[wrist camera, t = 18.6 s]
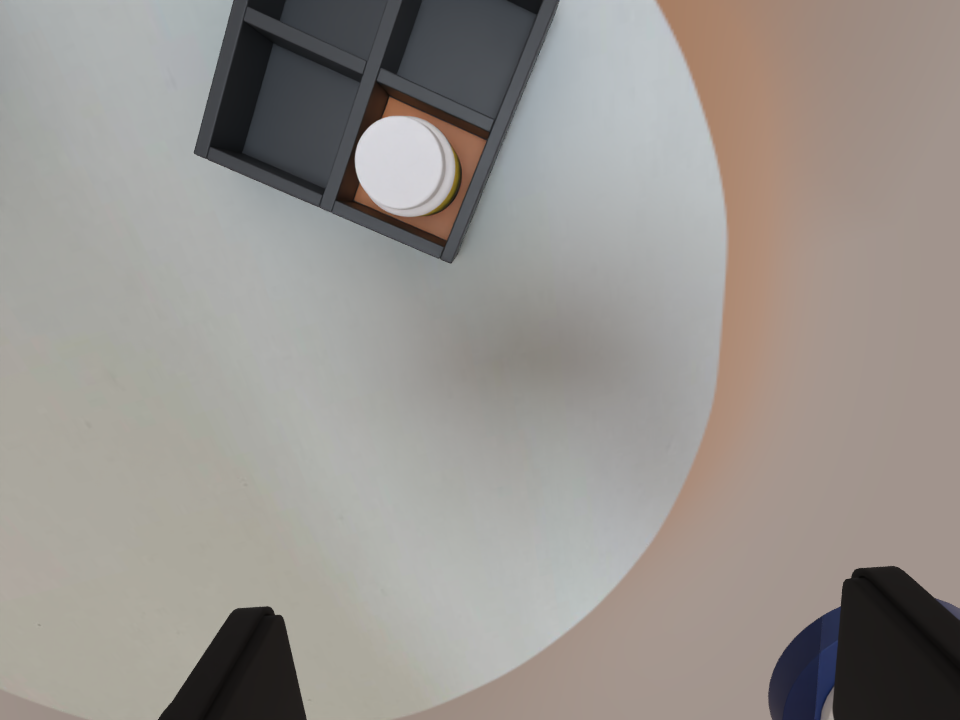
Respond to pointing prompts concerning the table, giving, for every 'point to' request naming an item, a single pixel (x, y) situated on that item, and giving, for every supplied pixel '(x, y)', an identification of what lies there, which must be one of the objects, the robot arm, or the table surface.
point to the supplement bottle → (408, 166)
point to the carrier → (369, 96)
